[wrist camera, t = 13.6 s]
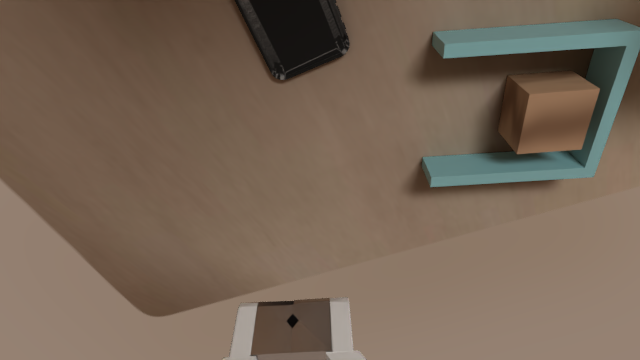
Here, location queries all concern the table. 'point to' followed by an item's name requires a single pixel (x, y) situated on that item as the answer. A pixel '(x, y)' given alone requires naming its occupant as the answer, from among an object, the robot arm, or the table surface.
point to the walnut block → (546, 111)
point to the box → (603, 35)
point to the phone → (295, 33)
